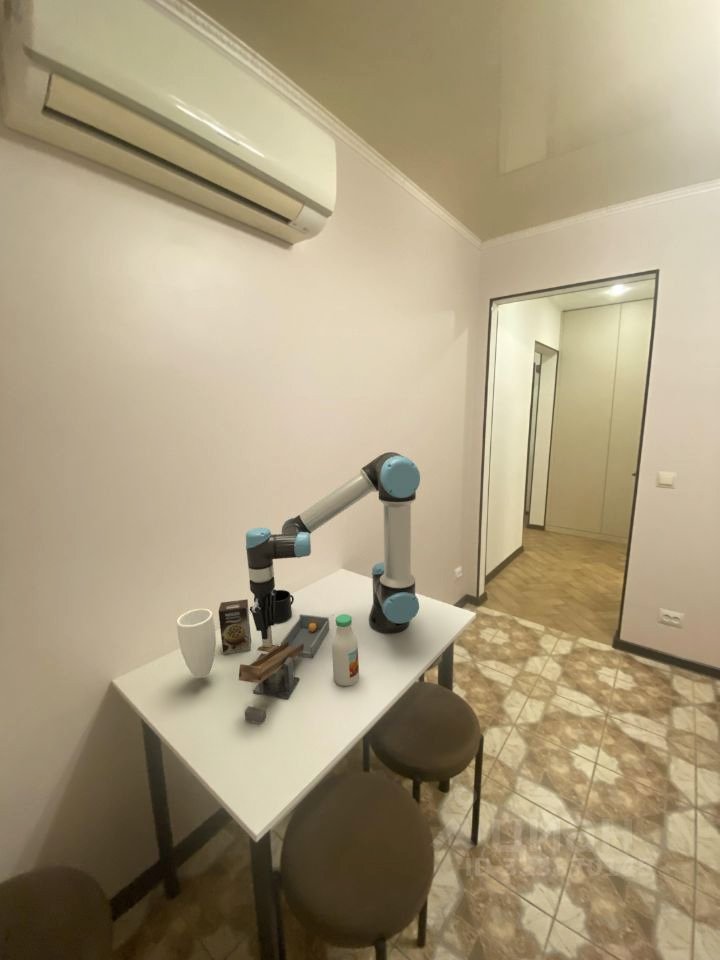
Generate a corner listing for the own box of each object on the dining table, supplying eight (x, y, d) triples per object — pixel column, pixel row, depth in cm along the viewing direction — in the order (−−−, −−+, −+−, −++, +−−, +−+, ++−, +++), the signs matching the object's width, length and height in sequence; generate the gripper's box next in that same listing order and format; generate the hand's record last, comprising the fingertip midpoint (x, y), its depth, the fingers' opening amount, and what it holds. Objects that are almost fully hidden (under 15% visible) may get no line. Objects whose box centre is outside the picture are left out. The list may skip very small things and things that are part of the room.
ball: (314, 625, 138) (314, 633, 138) (318, 622, 141) (317, 630, 141) (307, 624, 139) (307, 632, 139) (310, 621, 142) (310, 629, 142)
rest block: (266, 717, 103) (265, 709, 102) (262, 723, 101) (261, 715, 100) (249, 714, 104) (248, 706, 103) (245, 720, 102) (244, 711, 102)
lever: (303, 654, 125) (304, 638, 125) (259, 688, 98) (261, 668, 98) (265, 648, 128) (266, 633, 129) (213, 679, 101) (214, 660, 102)
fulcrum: (299, 680, 116) (297, 652, 114) (288, 699, 109) (285, 670, 107) (266, 674, 119) (264, 647, 117) (253, 693, 111) (250, 665, 110)
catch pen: (329, 630, 141) (328, 617, 140) (312, 658, 126) (311, 644, 125) (301, 626, 144) (300, 614, 143) (281, 653, 129) (280, 640, 128)
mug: (301, 613, 153) (300, 592, 151) (276, 626, 145) (275, 604, 143) (287, 605, 159) (285, 585, 158) (262, 617, 151) (260, 596, 149)
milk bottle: (341, 691, 111) (338, 628, 107) (329, 675, 118) (325, 616, 114) (364, 680, 115) (361, 619, 111) (350, 665, 122) (348, 608, 118)
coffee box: (222, 655, 129) (217, 611, 126) (225, 644, 135) (220, 601, 132) (250, 651, 131) (246, 607, 127) (251, 640, 137) (247, 598, 134)
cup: (185, 675, 120) (176, 612, 116) (220, 666, 124) (213, 604, 119) (183, 698, 110) (173, 630, 106) (222, 687, 114) (214, 621, 110)
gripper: (261, 567, 127) (267, 632, 132) (239, 586, 115) (246, 656, 119) (282, 569, 125) (287, 635, 130) (262, 588, 113) (268, 660, 117)
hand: (267, 645), depth 125 cm, fingers closed
